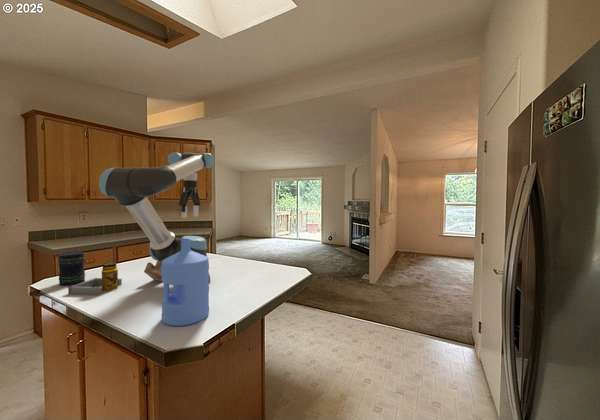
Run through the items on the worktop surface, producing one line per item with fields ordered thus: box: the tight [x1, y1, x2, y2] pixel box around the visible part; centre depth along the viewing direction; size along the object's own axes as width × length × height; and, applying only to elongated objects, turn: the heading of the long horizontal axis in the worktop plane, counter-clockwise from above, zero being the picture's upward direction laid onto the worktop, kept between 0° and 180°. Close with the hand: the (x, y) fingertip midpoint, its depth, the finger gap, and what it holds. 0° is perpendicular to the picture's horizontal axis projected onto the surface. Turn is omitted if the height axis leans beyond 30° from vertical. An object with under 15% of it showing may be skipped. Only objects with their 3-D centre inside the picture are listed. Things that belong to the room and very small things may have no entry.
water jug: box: [161, 238, 210, 327], centre depth 93 cm, size 16×16×28 cm
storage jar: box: [57, 250, 86, 287], centre depth 129 cm, size 10×10×15 cm
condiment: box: [99, 262, 122, 293], centre depth 121 cm, size 7×8×12 cm
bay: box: [67, 277, 123, 296], centre depth 120 cm, size 14×14×3 cm
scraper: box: [143, 260, 162, 281], centre depth 135 cm, size 7×10×15 cm
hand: (190, 217), depth 150 cm, fingers open, 13 cm apart
